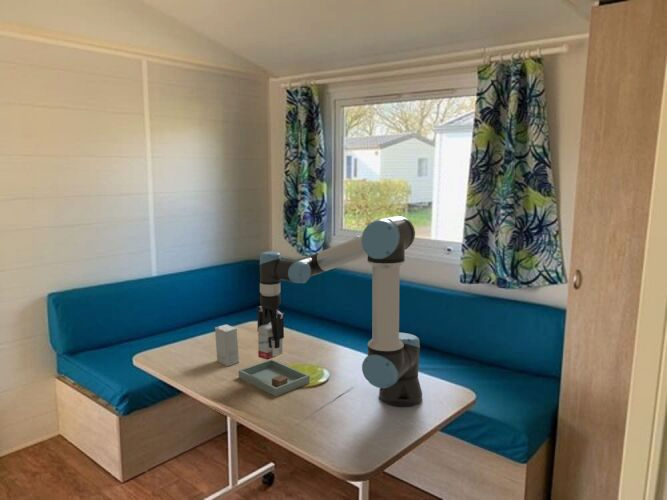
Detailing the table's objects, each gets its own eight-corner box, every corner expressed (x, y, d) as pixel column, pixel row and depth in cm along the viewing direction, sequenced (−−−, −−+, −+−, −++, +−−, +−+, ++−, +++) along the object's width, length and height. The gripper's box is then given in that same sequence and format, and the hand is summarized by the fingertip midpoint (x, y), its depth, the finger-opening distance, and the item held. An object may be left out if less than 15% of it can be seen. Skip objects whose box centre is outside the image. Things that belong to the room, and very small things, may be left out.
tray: (309, 385, 186) (309, 375, 185) (275, 399, 174) (275, 389, 174) (272, 368, 201) (271, 359, 200) (238, 380, 189) (238, 370, 189)
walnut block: (287, 387, 181) (287, 377, 180) (280, 391, 178) (280, 381, 177) (279, 385, 183) (278, 374, 183) (271, 389, 180) (271, 378, 179)
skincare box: (239, 363, 206) (238, 328, 203) (226, 366, 202) (225, 331, 199) (228, 357, 212) (227, 323, 209) (215, 360, 208) (214, 326, 205)
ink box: (267, 360, 184) (266, 329, 182) (257, 357, 187) (257, 326, 185) (283, 353, 191) (283, 323, 189) (273, 350, 194) (273, 321, 192)
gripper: (294, 296, 181) (294, 357, 185) (263, 287, 194) (263, 344, 198) (278, 300, 176) (278, 363, 180) (247, 290, 188) (247, 349, 192)
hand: (270, 353), depth 189 cm, fingers closed on ink box, 5 cm apart
